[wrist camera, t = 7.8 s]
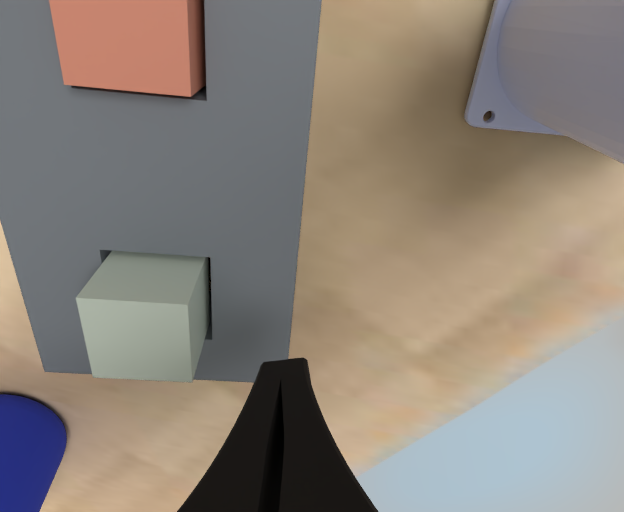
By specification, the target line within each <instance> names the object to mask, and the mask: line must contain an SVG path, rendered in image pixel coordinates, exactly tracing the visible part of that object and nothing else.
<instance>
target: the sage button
mask: <svg viewBox="0 0 624 512" xmlns="http://www.w3.org/2000/svg"><path fill="white" fill-rule="evenodd" d="M76 302H77V306H78V311H79V315H80V320H81V325H82V329H83V334H84V338H85V343H86V348H87V352H88V357H89V361H90V366H91V371H92V375H93V377H94V378H113V379H133V380H153V381H173V382H193V378H194V375H195V371H196V368H197V364H198V361H199V357H200V354H201V350H202V347H203V343H204V340H205V336H206V333H207V329H208V326H209V322H210V312H209V275H208V257H197V256H183V255H169V254H155V253H141V252H126V251H111V253H110V254H109V255H108V257H107V258H106V259H105V260H104V262H103V263H102V264H101V266H100V267H99V268H98V270H97V271H96V272H95V273H94V275H93V276H92V277H91V279H90V280H89V281H88V283H87V284H86V285H85V286H84V288H83V289H82V290H81V292H80V293H79V294H78V295H77V297H76Z"/></svg>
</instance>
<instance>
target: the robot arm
mask: <svg viewBox="0 0 624 512" xmlns="http://www.w3.org/2000/svg"><path fill="white" fill-rule="evenodd" d="M487 111H491V112H492V116H491V117H490V119H488V120H487V121H484V120H483V116H484V114H485V113H486V112H487ZM464 118H465V121H466V122H467V123H468V124H469V125H470V126H473V127H480V128H490V129H501V130H511V131H522V132H532V133H543V134H553V135H563V136H567V137H569V138H571V139H574V140H576V141H578V142H580V143H582V144H584V145H586V146H588V147H590V148H592V149H594V150H596V151H598V152H600V153H602V154H605V155H607V156H609V157H611V158H613V159H615V160H617V161H619V162H621V163H623V164H624V0H495V1H494V5H493V8H492V12H491V16H490V20H489V23H488V27H487V31H486V35H485V38H484V42H483V46H482V50H481V53H480V57H479V61H478V65H477V68H476V72H475V76H474V80H473V83H472V87H471V91H470V95H469V98H468V102H467V106H466V110H465V114H464ZM177 512H378V510H377V509H376V508H375V506H374V505H373V503H372V502H371V500H370V499H369V497H368V496H367V495H366V493H365V492H364V490H363V489H362V487H361V486H360V484H359V483H358V481H357V479H356V478H355V476H354V475H353V473H352V471H351V470H350V468H349V466H348V465H347V463H346V461H345V459H344V458H343V456H342V454H341V452H340V450H339V449H338V447H337V445H336V443H335V441H334V439H333V437H332V435H331V433H330V431H329V429H328V427H327V424H326V422H325V420H324V418H323V415H322V413H321V410H320V408H319V405H318V403H317V400H316V398H315V395H314V392H313V388H312V385H311V380H310V374H309V368H308V362H307V360H306V359H305V358H295V359H286V360H277V361H268V362H263V363H262V364H261V366H260V369H259V372H258V374H257V377H256V380H255V382H254V384H253V387H252V389H251V392H250V394H249V396H248V398H247V400H246V403H245V405H244V407H243V409H242V411H241V413H240V415H239V417H238V419H237V421H236V423H235V425H234V427H233V428H232V430H231V432H230V434H229V435H228V437H227V439H226V441H225V443H224V444H223V446H222V448H221V450H220V451H219V453H218V454H217V456H216V458H215V459H214V461H213V462H212V464H211V466H210V467H209V469H208V470H207V472H206V473H205V475H204V476H203V478H202V479H201V480H200V482H199V483H198V485H197V486H196V487H195V489H194V490H193V491H192V493H191V494H190V496H189V497H188V498H187V500H186V501H185V502H184V504H183V505H182V506H181V507H180V509H179V510H178V511H177Z"/></svg>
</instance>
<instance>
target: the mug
mask: <svg viewBox="0 0 624 512" xmlns="http://www.w3.org/2000/svg"><path fill="white" fill-rule="evenodd" d="M66 440H67V436H66V430H65V427H64V425H63V423H62V422H61V420H60V419H59V417H58V416H57V415H56V414H55V413H54V412H52V411H51V410H50V409H49V408H47V407H46V406H44V405H42V404H40V403H38V402H36V401H34V400H31V399H28V398H25V397H21V396H15V395H5V394H0V512H39V511H40V509H41V507H42V504H43V502H44V500H45V497H46V495H47V493H48V490H49V488H50V486H51V483H52V481H53V479H54V476H55V474H56V472H57V469H58V467H59V465H60V463H61V460H62V457H63V455H64V452H65V448H66Z"/></svg>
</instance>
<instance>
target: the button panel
mask: <svg viewBox="0 0 624 512" xmlns="http://www.w3.org/2000/svg"><path fill="white" fill-rule="evenodd" d="M321 1H322V0H204V9H205V51H206V85H205V86H204V87H202V88H201V89H200V90H199V91H197V92H196V93H195V94H194V95H193V96H191V97H187V96H177V95H166V94H156V93H145V92H135V91H125V90H114V89H104V88H93V87H83V86H73V85H64V81H63V76H62V70H61V65H60V59H59V54H58V48H57V42H56V37H55V31H54V26H53V20H52V15H51V9H50V3H49V0H0V220H1V224H2V227H3V231H4V234H5V238H6V241H7V244H8V248H9V251H10V255H11V258H12V262H13V265H14V268H15V272H16V275H17V279H18V282H19V286H20V289H21V292H22V296H23V299H24V303H25V306H26V309H27V313H28V316H29V320H30V323H31V327H32V330H33V333H34V337H35V340H36V344H37V347H38V351H39V354H40V357H41V361H42V364H43V368H44V371H45V372H59V373H78V374H92V371H91V366H90V361H89V357H88V352H87V348H86V343H85V338H84V334H83V329H82V325H81V320H80V315H79V311H78V306H77V302H76V297H77V295H78V294H79V293H80V292H81V290H82V289H83V288H84V286H85V285H86V284H87V283H88V281H89V280H90V279H91V277H92V276H93V275H94V273H95V272H96V271H97V270H98V268H99V267H100V266H101V264H102V263H103V262H104V260H105V259H106V258H107V257H108V255H109V254H110V253H111V251H126V252H141V253H155V254H169V255H183V256H197V257H210V260H211V291H209V312H210V322H209V326H208V329H207V333H206V336H205V340H204V343H203V347H202V350H201V354H200V357H199V361H198V364H197V368H196V371H195V375H194V378H193V379H196V380H216V381H235V382H255V380H256V377H257V374H258V372H259V369H260V366H261V364H262V363H263V362H268V361H277V360H286V359H288V355H289V344H290V333H291V323H292V312H293V301H294V290H295V280H296V269H297V258H298V248H299V237H300V226H301V216H302V205H303V194H304V183H305V173H306V162H307V151H308V141H309V130H310V119H311V108H312V98H313V87H314V76H315V66H316V55H317V44H318V33H319V23H320V12H321Z"/></svg>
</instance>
